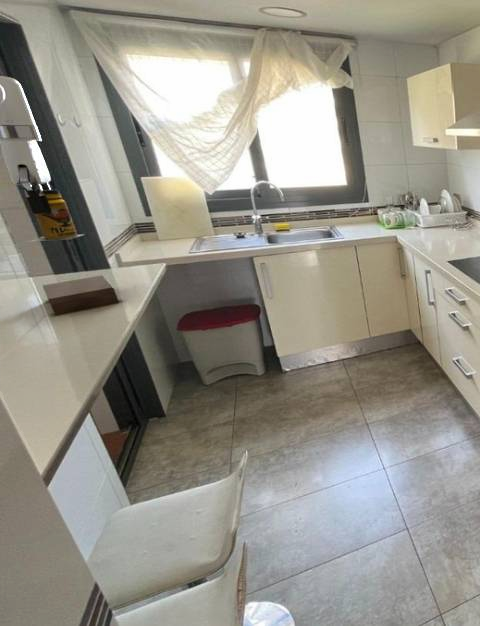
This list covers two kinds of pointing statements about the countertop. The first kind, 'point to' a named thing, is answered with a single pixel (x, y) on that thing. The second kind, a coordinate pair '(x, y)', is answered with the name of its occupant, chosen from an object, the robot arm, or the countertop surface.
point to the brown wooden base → (80, 294)
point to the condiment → (56, 219)
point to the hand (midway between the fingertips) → (46, 211)
